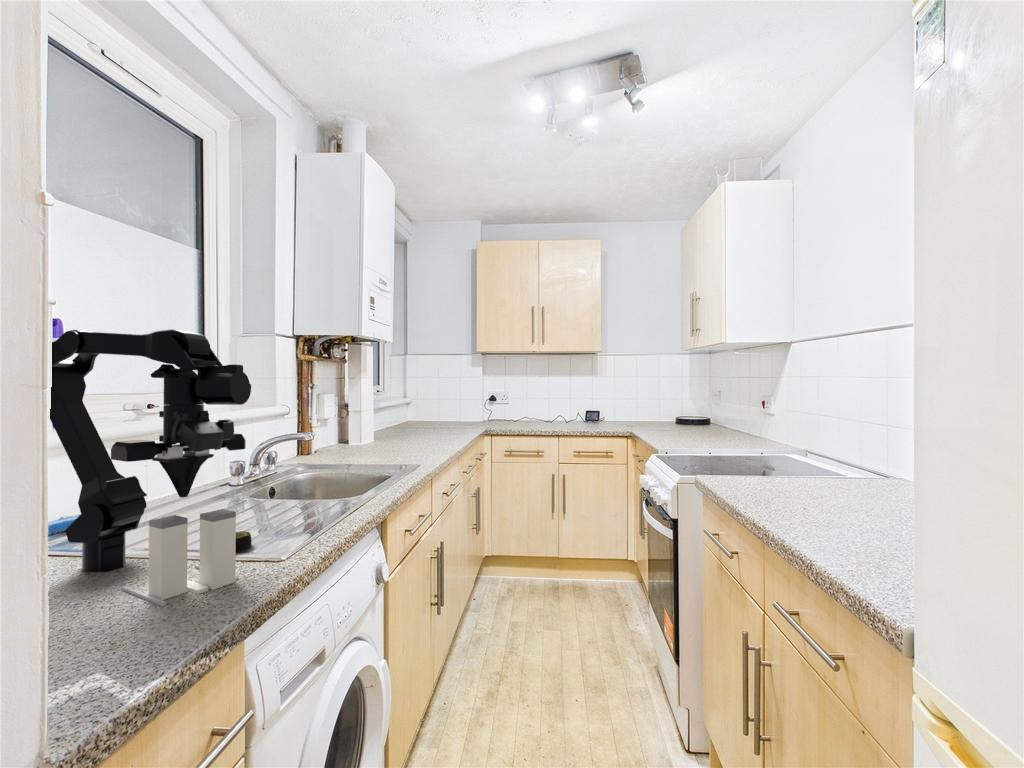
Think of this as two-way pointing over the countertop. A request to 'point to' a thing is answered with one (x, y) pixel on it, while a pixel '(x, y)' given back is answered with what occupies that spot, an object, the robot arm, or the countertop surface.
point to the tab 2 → (217, 548)
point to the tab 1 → (167, 557)
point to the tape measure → (243, 541)
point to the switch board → (191, 587)
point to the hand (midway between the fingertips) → (183, 496)
